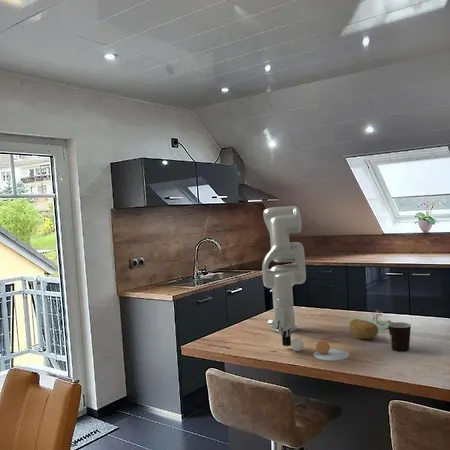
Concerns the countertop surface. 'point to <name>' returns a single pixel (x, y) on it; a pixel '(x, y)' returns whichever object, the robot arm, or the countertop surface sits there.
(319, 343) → the object ball
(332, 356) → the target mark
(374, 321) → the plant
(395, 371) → the countertop surface
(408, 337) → the coffee mug
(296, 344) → the cue ball
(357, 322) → the potato
